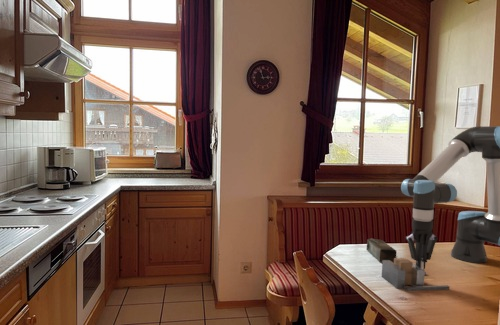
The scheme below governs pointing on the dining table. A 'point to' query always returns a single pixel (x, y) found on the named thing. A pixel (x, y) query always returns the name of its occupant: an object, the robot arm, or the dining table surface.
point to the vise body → (403, 278)
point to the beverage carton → (380, 250)
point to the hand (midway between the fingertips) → (419, 276)
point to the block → (405, 268)
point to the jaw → (417, 276)
